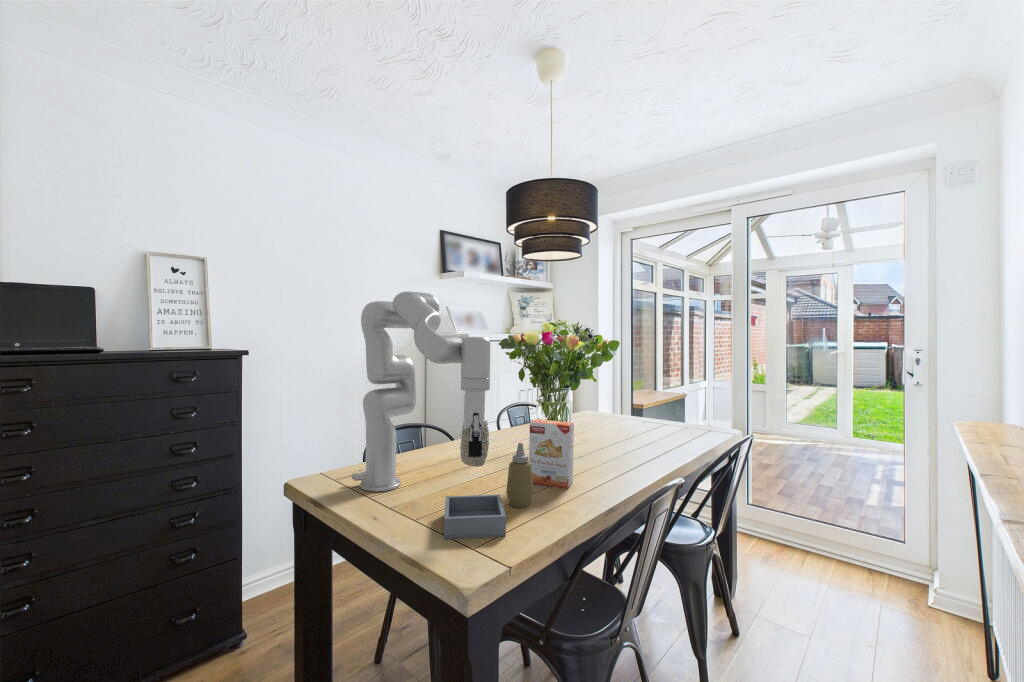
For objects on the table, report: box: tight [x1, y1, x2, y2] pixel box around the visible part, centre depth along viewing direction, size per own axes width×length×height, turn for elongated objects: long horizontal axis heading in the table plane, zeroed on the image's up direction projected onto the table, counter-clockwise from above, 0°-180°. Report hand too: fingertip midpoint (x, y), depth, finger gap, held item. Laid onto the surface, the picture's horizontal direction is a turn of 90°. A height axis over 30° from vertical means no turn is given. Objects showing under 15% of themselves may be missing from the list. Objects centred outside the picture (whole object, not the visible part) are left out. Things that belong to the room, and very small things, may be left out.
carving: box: [459, 417, 490, 467], centre depth 115 cm, size 6×8×12 cm
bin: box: [443, 494, 507, 540], centre depth 115 cm, size 15×15×5 cm
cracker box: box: [528, 418, 575, 489], centre depth 149 cm, size 14×6×21 cm, turn 68°
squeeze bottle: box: [506, 442, 534, 508], centre depth 130 cm, size 8×8×18 cm
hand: (474, 452), depth 115 cm, fingers closed on carving, 6 cm apart
